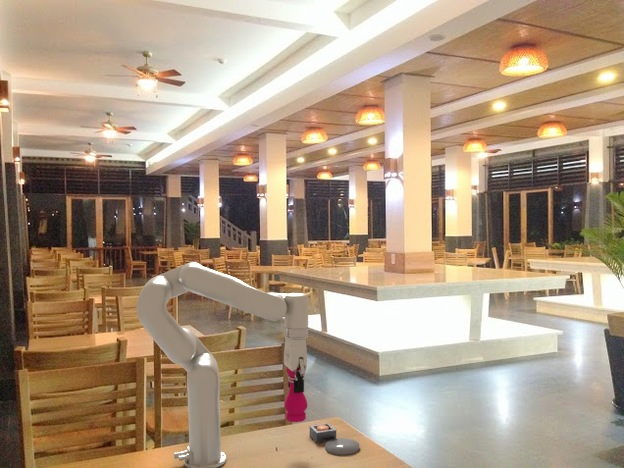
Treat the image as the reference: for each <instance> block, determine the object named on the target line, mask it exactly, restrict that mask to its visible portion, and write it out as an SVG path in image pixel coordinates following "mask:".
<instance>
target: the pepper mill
mask: <svg viewBox="0 0 624 468" xmlns="http://www.w3.org/2000/svg"><path fill="white" fill-rule="evenodd" d="M296 370H300V368H297V369H296ZM294 371H295V370H294ZM294 371H291V370H290V369H289V368H288V367H286V373H287V374H288V375H289V376H288V375H287V379H288V378H289V379H288V380H287V382H288V381H289V382H290V388H289V390H288V394H287V395H286V398H285V400H284V409H285V410H286V411H287V412H286V413H285V419H286V420H287V421H288V422H291V423H300V422H304V421H306V419H307V416H306V415H307V413H306V412H305V411H306V410H307V409H308V401H307V398H306V395H305V393H304V392H301V393H294V380H295V375H294V373H295V372H294ZM306 371H307V369H306V370H305V372H306ZM298 373H300V372H297V375H298Z"/></svg>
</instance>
